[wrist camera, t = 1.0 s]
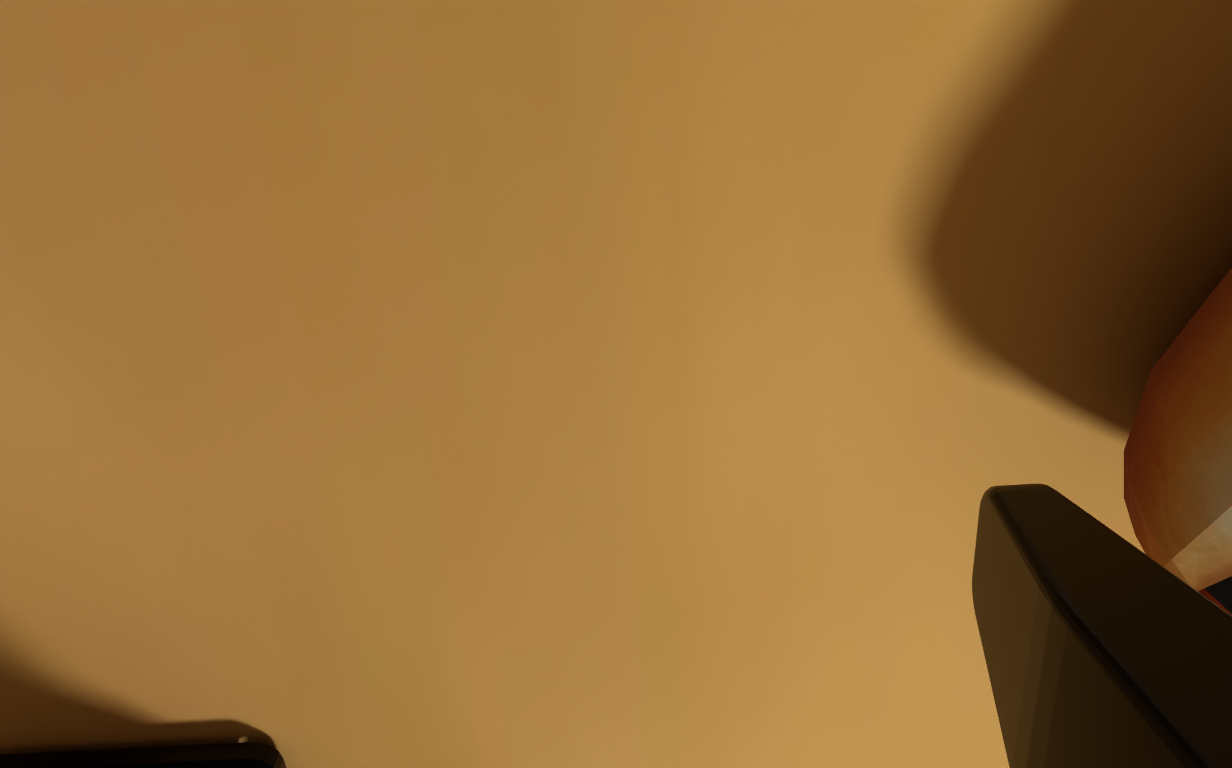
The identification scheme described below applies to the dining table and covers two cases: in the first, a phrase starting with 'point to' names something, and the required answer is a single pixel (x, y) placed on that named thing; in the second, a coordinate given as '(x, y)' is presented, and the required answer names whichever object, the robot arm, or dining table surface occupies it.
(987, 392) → the dining table surface
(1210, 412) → the hot dog
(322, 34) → the dining table surface
